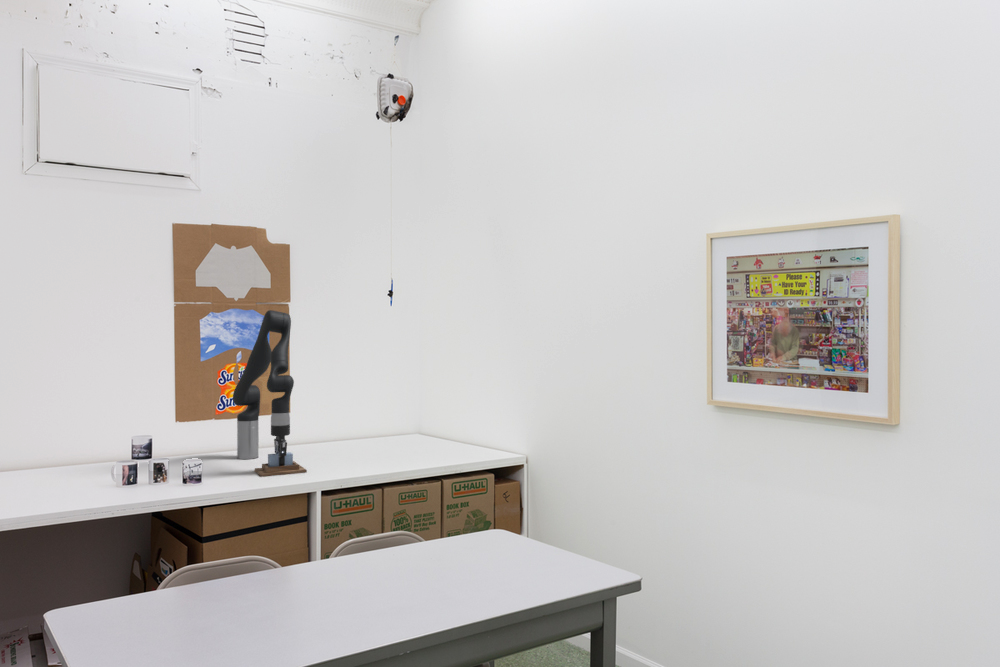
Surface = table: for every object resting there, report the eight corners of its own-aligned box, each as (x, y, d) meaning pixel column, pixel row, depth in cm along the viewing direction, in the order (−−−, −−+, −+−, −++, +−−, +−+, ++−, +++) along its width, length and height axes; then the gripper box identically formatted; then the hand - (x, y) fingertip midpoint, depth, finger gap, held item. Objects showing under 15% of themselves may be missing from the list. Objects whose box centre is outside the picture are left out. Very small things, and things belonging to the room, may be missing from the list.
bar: (290, 464, 294) (290, 452, 294) (292, 466, 290) (292, 453, 290) (267, 466, 289) (267, 454, 289) (270, 468, 286) (270, 455, 286)
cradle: (254, 470, 292) (254, 463, 292) (298, 466, 300) (298, 459, 300) (260, 476, 279) (260, 469, 279) (306, 472, 288) (306, 465, 288)
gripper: (293, 425, 285) (293, 467, 285) (285, 421, 298) (286, 461, 298) (274, 426, 282) (274, 468, 282) (267, 422, 294) (267, 463, 294)
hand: (280, 464), depth 290 cm, fingers closed on bar, 4 cm apart
